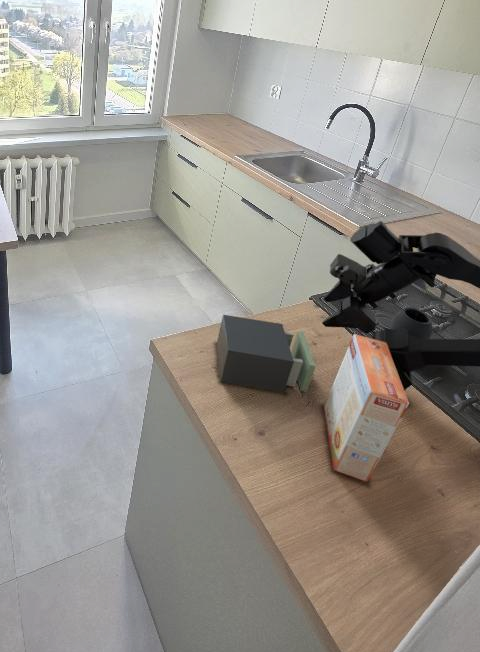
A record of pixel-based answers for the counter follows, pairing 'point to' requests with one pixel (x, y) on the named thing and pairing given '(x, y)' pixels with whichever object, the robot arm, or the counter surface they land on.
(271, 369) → the cabinet
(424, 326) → the mug
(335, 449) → the cracker box
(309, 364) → the drawer
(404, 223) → the counter surface
